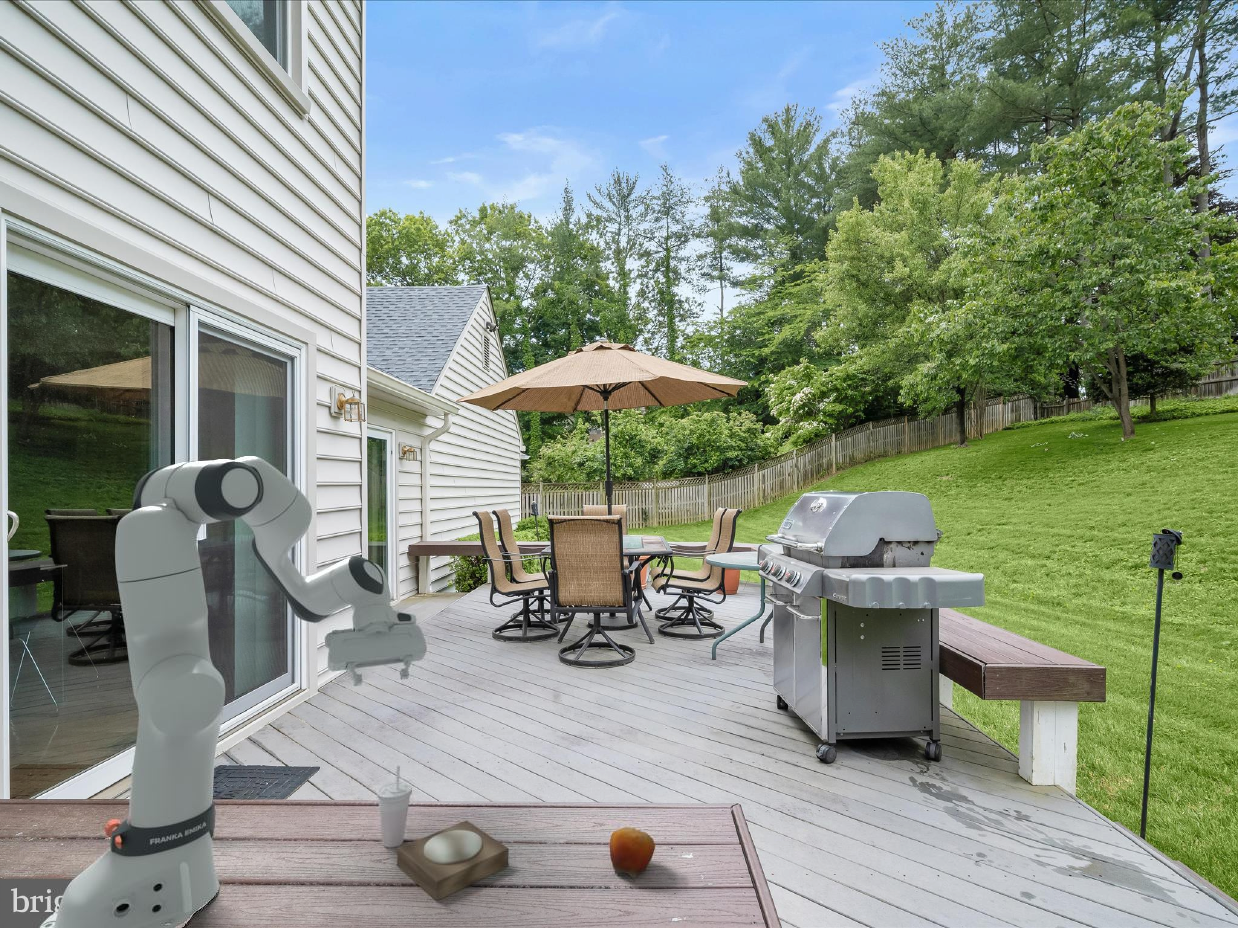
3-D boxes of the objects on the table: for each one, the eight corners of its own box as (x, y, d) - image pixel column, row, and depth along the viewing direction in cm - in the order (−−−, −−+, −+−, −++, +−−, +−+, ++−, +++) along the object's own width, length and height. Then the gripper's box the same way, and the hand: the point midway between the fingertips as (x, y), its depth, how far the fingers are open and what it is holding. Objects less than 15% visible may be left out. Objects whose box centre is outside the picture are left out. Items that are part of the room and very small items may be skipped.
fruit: (597, 873, 105) (607, 820, 109) (611, 876, 111) (619, 826, 115) (642, 883, 102) (650, 828, 106) (654, 886, 108) (661, 834, 112)
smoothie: (399, 852, 113) (401, 774, 114) (367, 848, 115) (370, 771, 116) (417, 835, 120) (419, 760, 121) (387, 831, 121) (389, 758, 122)
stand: (436, 900, 99) (436, 877, 100) (397, 865, 109) (397, 844, 110) (508, 865, 109) (508, 844, 110) (466, 836, 119) (466, 816, 119)
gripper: (325, 622, 132) (330, 679, 123) (422, 614, 143) (432, 666, 134) (322, 639, 136) (326, 696, 127) (417, 630, 146) (427, 682, 137)
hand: (382, 680), depth 130 cm, fingers open, 8 cm apart
